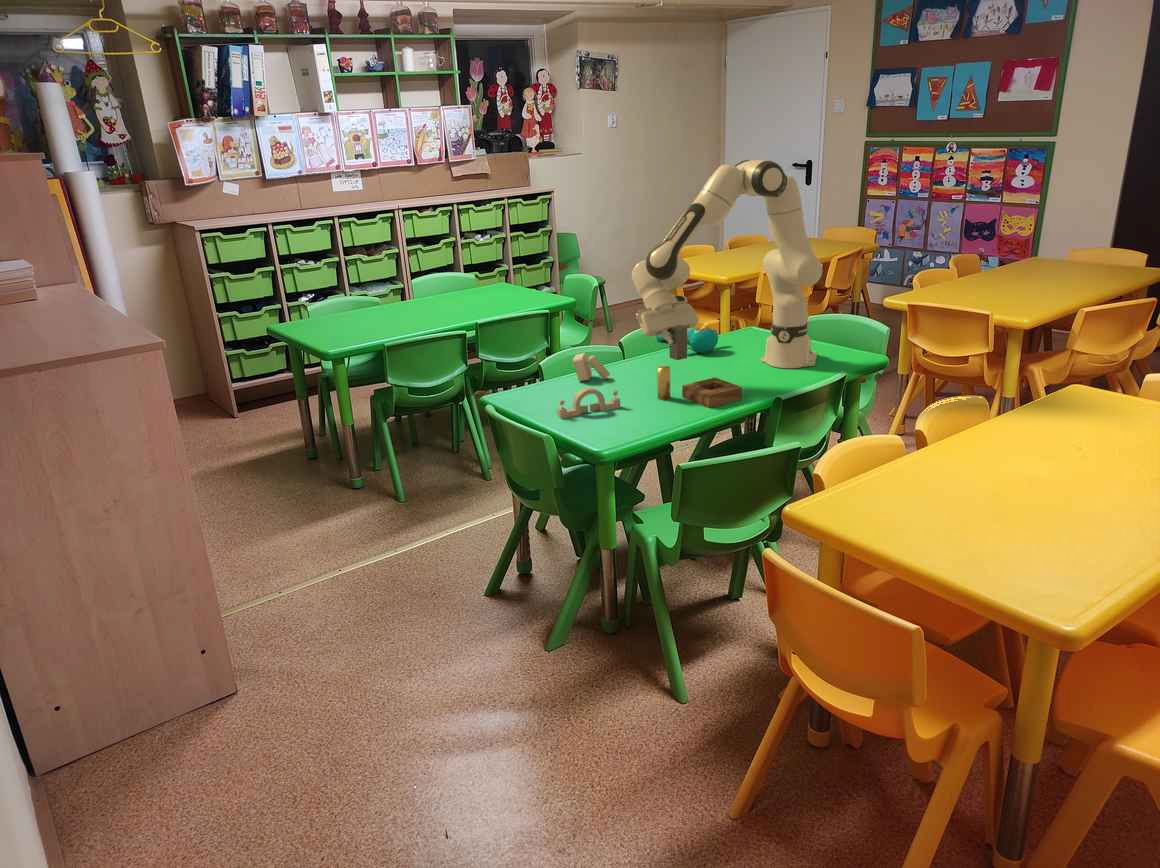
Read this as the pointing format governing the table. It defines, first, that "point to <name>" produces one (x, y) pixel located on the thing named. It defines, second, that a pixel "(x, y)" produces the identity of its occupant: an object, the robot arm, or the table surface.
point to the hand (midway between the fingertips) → (679, 341)
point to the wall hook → (588, 367)
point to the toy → (699, 339)
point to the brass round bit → (663, 382)
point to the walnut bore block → (712, 392)
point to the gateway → (582, 409)
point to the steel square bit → (678, 342)
